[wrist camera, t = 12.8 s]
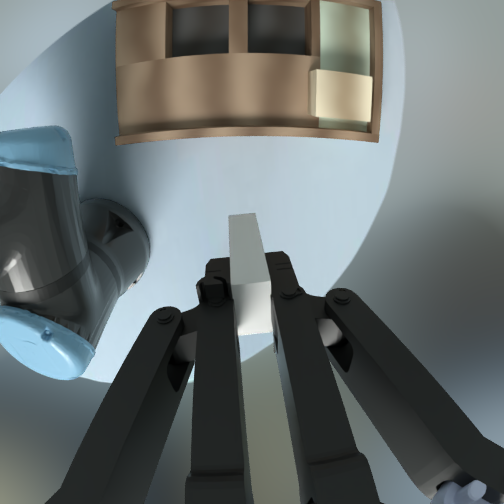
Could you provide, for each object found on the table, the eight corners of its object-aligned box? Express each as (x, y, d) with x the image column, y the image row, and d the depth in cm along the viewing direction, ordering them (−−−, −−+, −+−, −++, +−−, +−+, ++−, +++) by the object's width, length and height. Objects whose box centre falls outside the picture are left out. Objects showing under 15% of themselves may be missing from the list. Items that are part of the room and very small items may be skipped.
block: (307, 114, 30) (315, 116, 27) (307, 71, 28) (316, 69, 24) (356, 118, 30) (370, 122, 27) (358, 77, 28) (372, 76, 24)
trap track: (131, 138, 34) (115, 145, 30) (128, 11, 25) (112, 1, 21) (361, 135, 35) (378, 142, 30) (363, 11, 26) (381, 1, 22)
